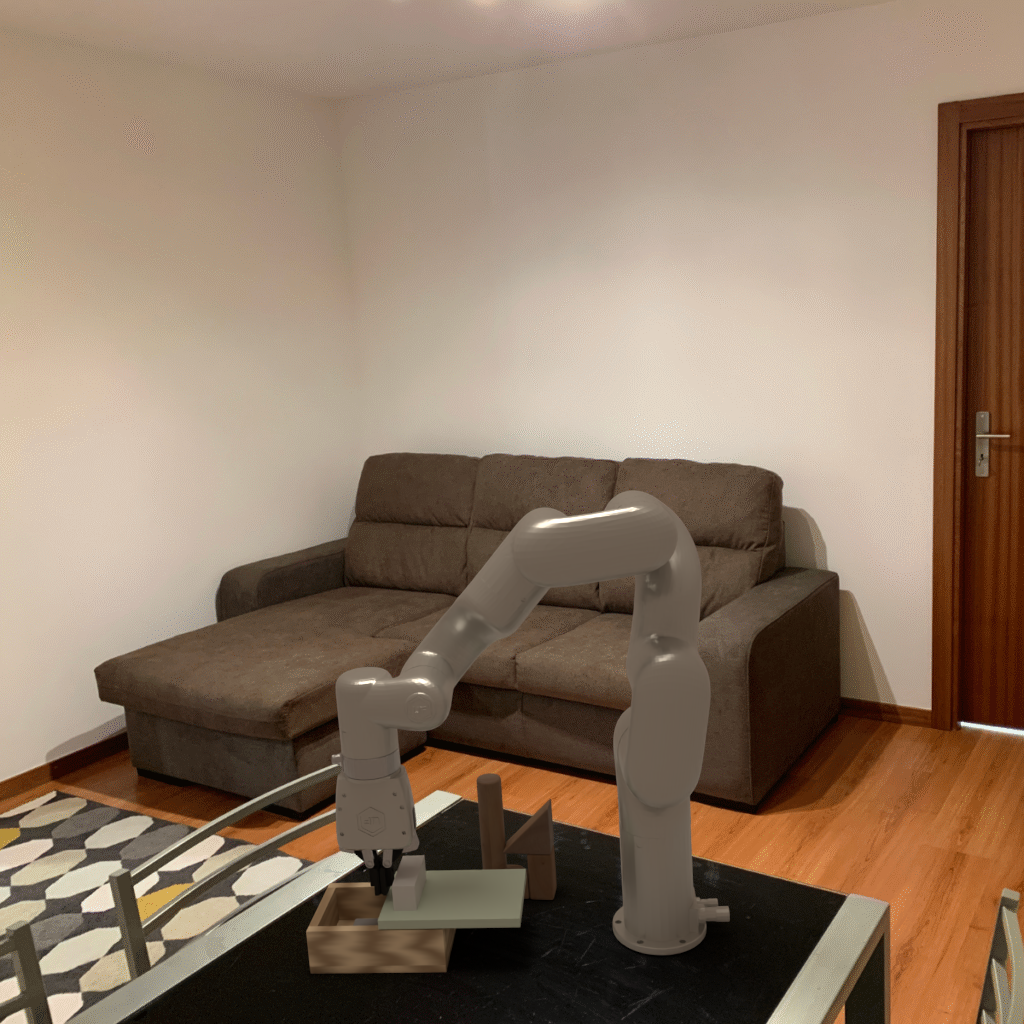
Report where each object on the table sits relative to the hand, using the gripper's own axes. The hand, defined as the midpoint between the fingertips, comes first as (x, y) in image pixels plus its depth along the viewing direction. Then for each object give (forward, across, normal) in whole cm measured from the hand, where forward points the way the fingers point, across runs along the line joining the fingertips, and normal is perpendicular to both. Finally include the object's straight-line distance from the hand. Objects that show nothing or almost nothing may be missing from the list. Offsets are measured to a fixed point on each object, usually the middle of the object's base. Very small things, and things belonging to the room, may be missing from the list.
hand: (383, 890), depth 137 cm
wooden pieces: (+8, +17, +13) cm, 23 cm away
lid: (+2, +10, 0) cm, 10 cm away
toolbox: (+8, 0, 0) cm, 8 cm away
